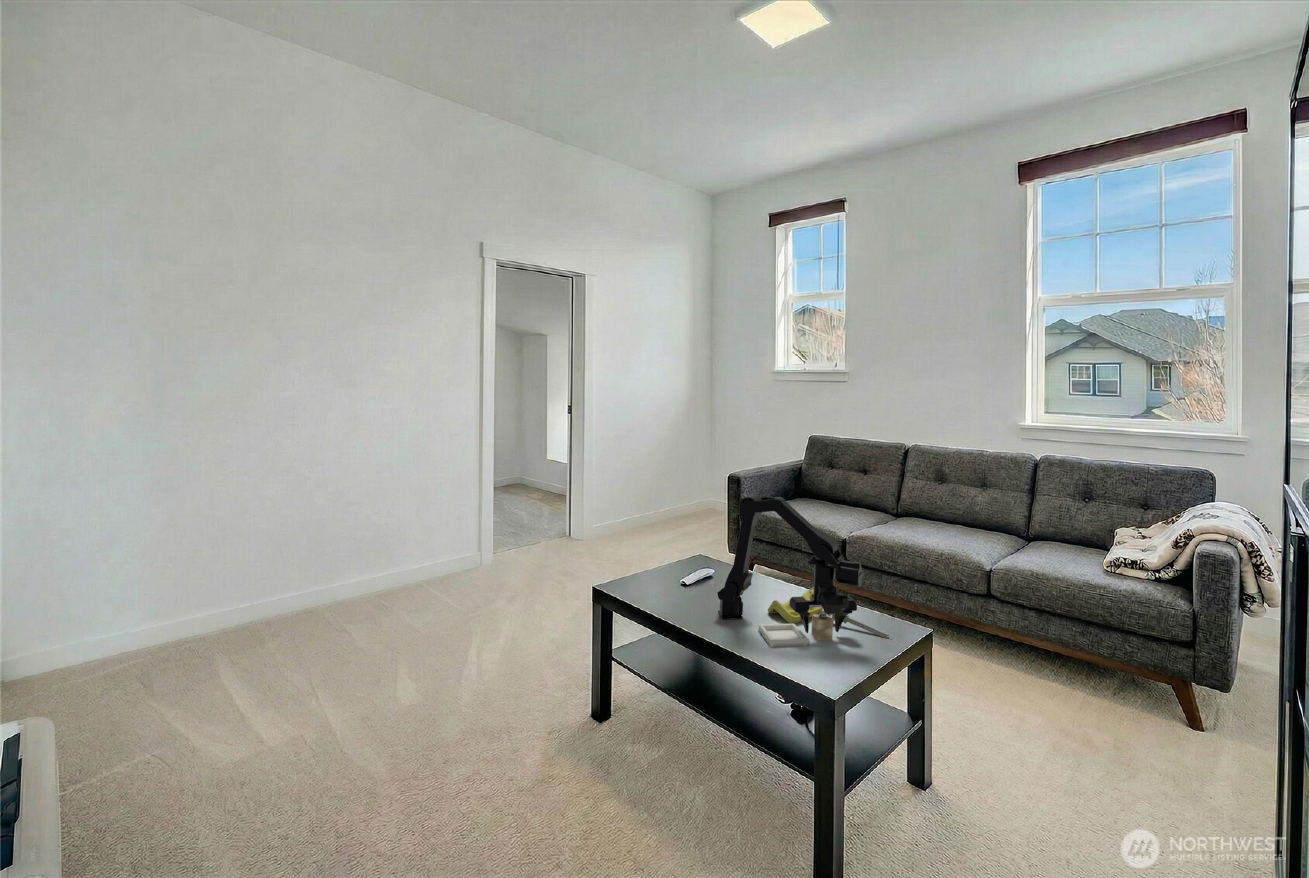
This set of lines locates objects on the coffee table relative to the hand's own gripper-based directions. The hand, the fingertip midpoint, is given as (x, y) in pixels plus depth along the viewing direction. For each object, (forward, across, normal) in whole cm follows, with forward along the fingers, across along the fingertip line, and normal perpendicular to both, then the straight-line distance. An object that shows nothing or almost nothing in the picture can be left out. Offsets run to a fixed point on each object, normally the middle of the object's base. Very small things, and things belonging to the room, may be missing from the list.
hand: (821, 632), depth 176 cm
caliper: (+2, +13, +4) cm, 14 cm away
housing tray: (+1, -12, 0) cm, 12 cm away
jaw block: (+2, 0, 0) cm, 2 cm away
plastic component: (+2, 0, +18) cm, 18 cm away
